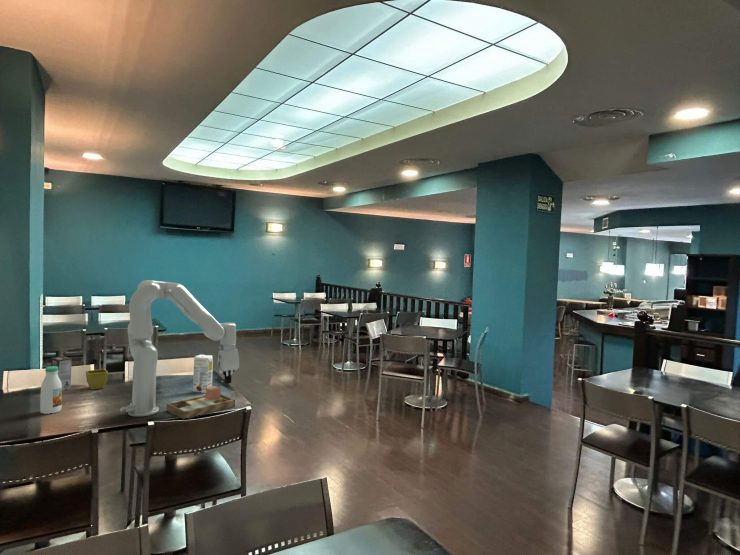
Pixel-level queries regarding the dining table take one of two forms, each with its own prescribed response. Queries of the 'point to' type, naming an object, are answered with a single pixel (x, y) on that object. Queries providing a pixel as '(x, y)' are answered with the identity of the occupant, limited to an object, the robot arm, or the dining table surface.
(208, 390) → the block
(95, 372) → the flower pot
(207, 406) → the tray
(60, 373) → the coffee box
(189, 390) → the dining table surface
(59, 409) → the milk bottle
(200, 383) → the juice carton
